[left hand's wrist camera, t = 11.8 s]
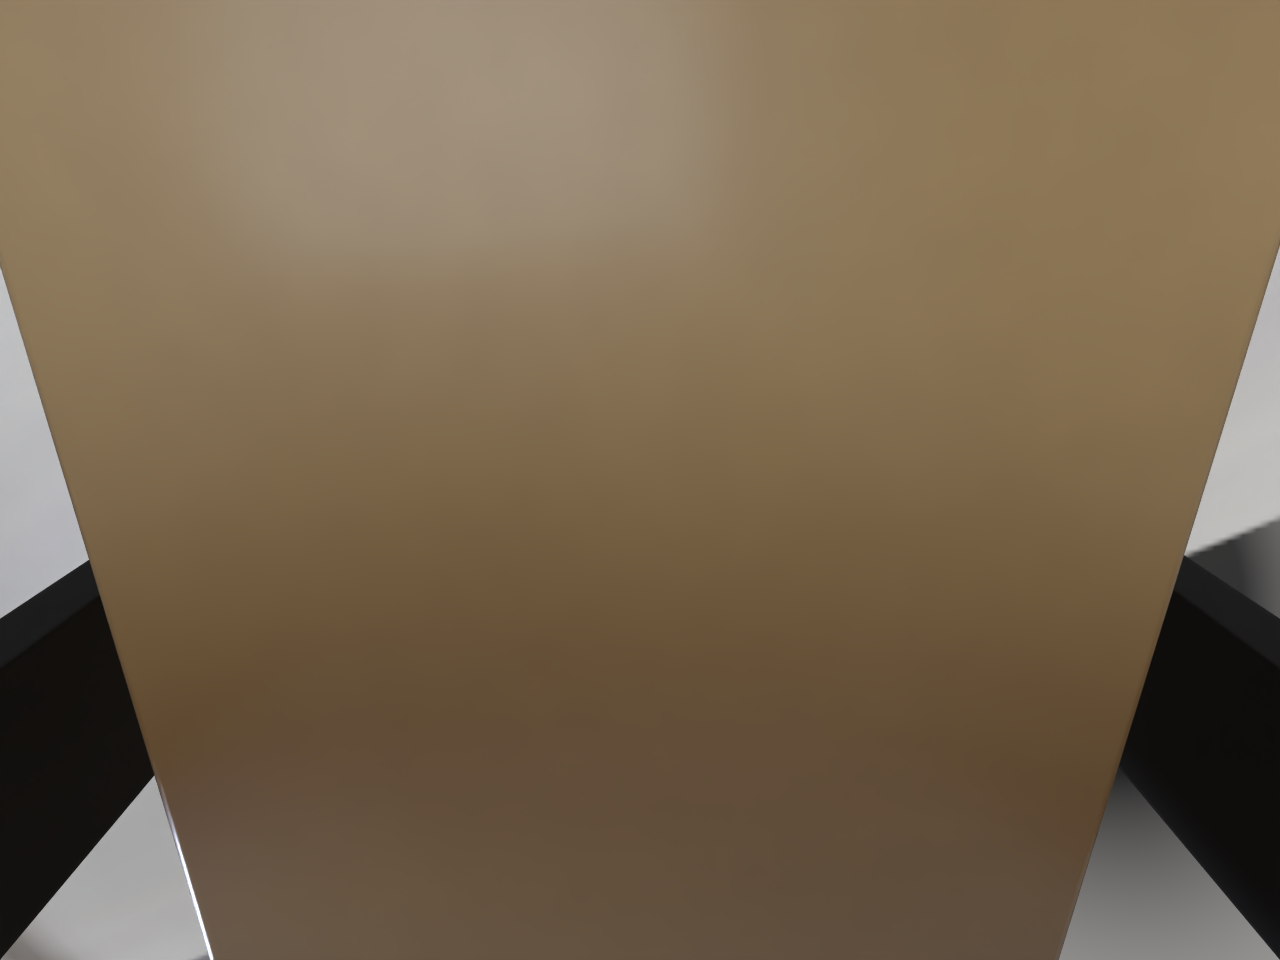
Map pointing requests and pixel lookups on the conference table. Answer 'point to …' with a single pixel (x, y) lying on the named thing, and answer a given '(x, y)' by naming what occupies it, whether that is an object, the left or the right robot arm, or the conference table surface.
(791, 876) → the box
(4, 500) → the conference table surface
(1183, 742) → the left robot arm
